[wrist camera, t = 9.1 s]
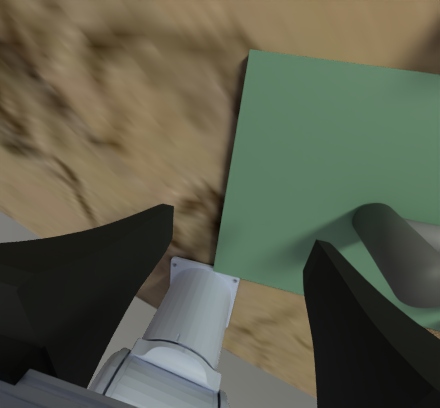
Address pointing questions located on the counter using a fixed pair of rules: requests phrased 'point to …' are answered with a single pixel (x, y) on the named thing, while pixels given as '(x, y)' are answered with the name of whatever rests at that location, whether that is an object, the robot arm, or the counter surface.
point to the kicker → (402, 253)
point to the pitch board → (326, 166)
